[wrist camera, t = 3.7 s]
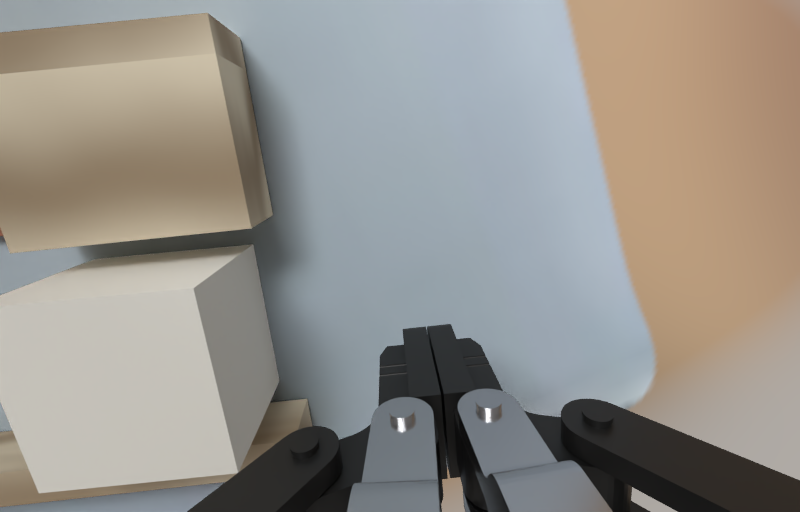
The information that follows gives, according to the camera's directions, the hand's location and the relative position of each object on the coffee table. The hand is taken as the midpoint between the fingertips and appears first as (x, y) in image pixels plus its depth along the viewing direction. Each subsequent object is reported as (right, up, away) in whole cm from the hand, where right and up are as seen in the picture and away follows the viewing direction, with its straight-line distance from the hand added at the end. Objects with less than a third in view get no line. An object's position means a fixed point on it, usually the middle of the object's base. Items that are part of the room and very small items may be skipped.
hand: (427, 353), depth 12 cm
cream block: (-9, 0, +4) cm, 10 cm away
